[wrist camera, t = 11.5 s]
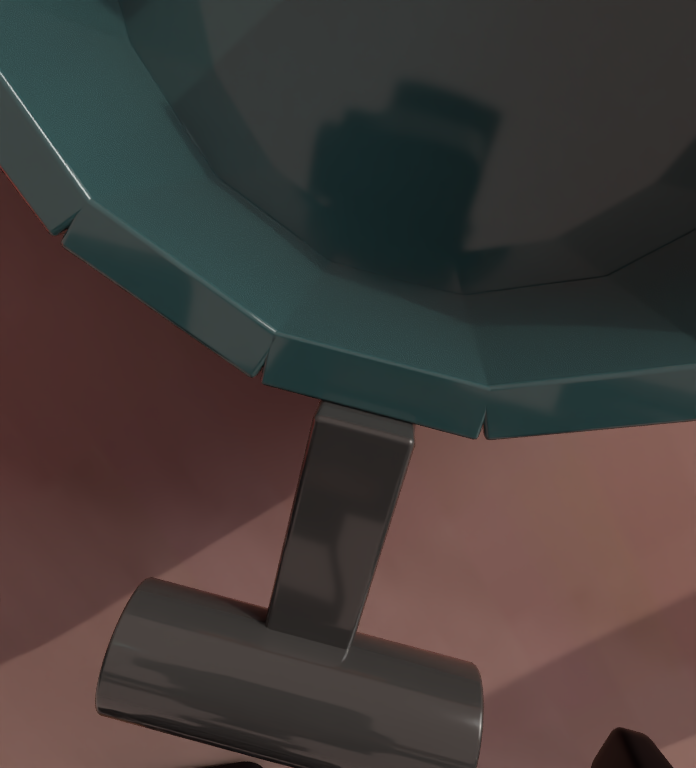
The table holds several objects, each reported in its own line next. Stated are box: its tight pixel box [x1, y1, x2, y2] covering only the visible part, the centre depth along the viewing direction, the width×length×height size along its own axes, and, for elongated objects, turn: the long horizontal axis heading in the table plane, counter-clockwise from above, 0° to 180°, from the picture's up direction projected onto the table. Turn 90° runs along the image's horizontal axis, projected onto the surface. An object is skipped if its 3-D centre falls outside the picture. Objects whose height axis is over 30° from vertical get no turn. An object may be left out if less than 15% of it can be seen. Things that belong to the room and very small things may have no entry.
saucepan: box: [0, 0, 696, 768], centre depth 7 cm, size 19×14×6 cm
